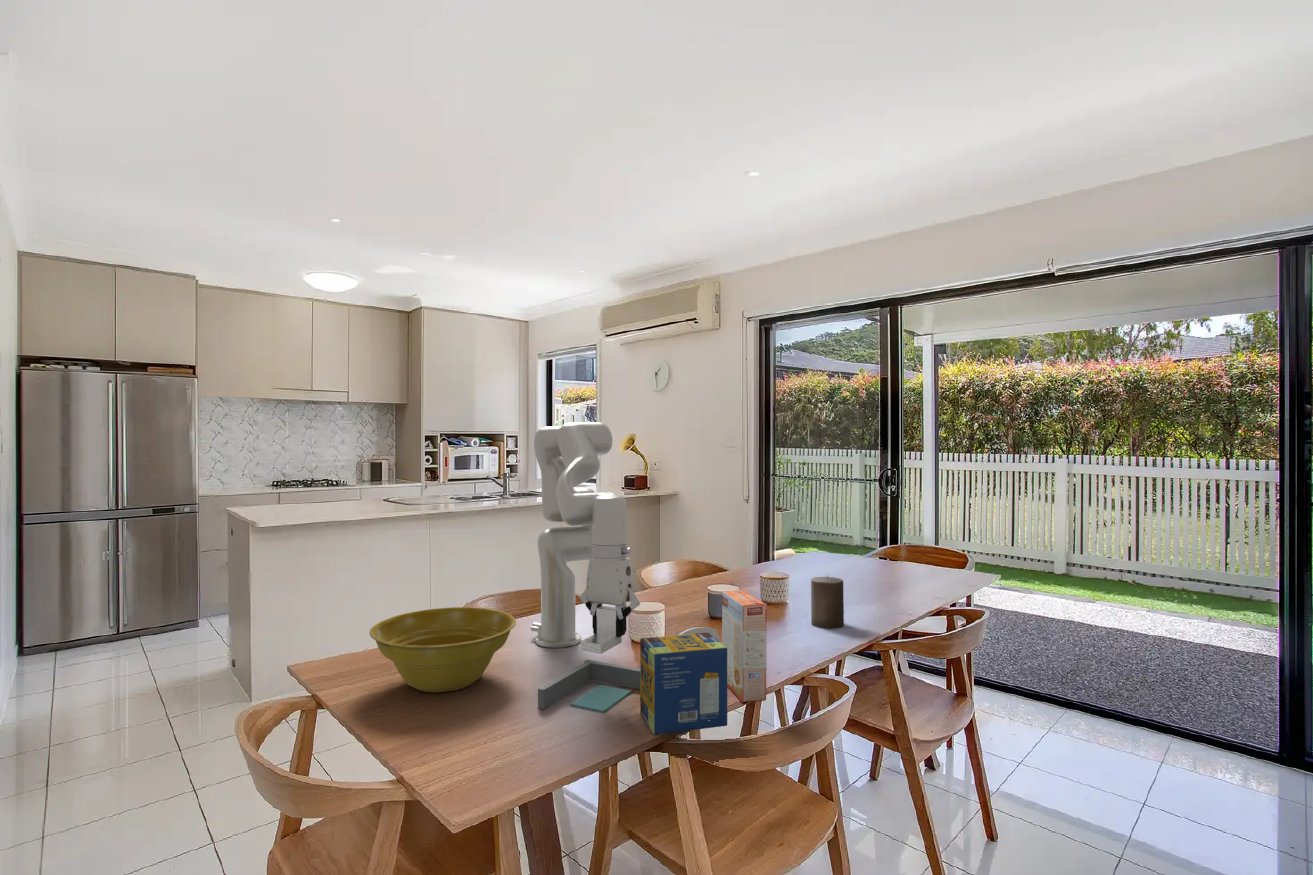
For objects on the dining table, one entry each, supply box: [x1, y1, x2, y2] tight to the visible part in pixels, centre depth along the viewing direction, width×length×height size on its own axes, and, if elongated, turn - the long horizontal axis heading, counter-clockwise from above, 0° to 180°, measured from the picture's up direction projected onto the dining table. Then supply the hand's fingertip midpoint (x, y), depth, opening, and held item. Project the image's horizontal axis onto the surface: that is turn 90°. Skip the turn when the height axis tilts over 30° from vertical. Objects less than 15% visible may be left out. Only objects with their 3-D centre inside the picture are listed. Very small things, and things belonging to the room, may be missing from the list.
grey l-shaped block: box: [579, 605, 623, 655], centre depth 140 cm, size 9×5×8 cm, turn 154°
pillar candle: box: [810, 575, 845, 630], centre depth 198 cm, size 10×10×15 cm
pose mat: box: [570, 684, 632, 713], centre depth 140 cm, size 8×12×1 cm, turn 154°
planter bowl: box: [369, 606, 517, 693], centre depth 151 cm, size 32×32×13 cm
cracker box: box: [721, 590, 768, 703], centre depth 145 cm, size 14×6×21 cm, turn 12°
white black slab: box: [673, 626, 722, 643], centre depth 162 cm, size 17×5×10 cm, turn 130°
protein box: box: [639, 632, 728, 736], centre depth 130 cm, size 10×15×16 cm
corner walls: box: [537, 659, 640, 710], centre depth 141 cm, size 18×20×4 cm
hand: (609, 633), depth 143 cm, fingers closed on grey l-shaped block, 5 cm apart
